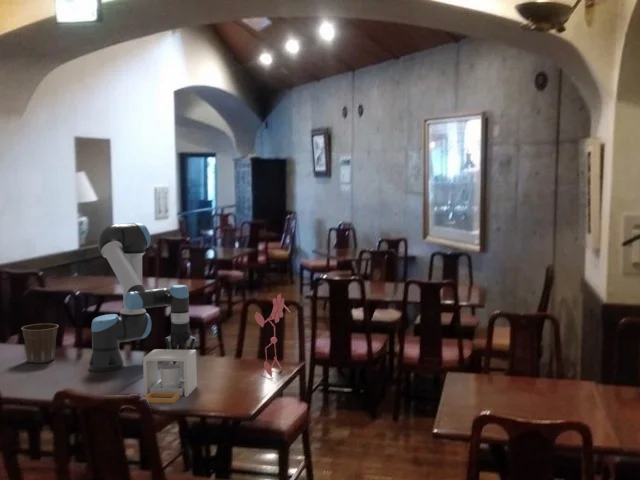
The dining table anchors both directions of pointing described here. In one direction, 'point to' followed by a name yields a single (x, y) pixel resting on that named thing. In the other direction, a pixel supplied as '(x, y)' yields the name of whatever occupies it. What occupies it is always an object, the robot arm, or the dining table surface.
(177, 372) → the white cup
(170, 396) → the frame
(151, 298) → the robot arm
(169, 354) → the tunnel
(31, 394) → the dining table surface
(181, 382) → the square frame with handle
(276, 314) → the figurine
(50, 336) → the plant pot
